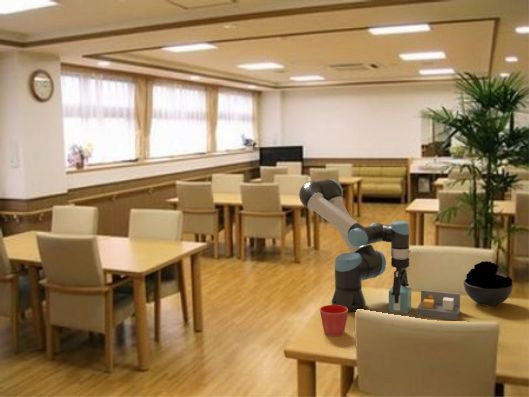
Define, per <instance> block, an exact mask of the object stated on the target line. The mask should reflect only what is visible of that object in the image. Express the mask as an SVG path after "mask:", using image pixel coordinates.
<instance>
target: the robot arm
mask: <svg viewBox="0 0 529 397" xmlns="http://www.w3.org/2000/svg"><path fill="white" fill-rule="evenodd" d="M343 191H344V189H343V187H342V185H341V184H340V182H339V181H337V180H335V179H332V178H331V179H330V178H329V179H328V178H326V179H322V180H311V181H307V182H305V183H304V184H303V185H302V186H301V187H300V189H299V193H298V195H299V200H300V203H301V204H302V205H303V206H304V207H305V209H307V210H309V211H311V212H315V213H316V214H318V215H319V216H320V217H321V218H323V219H325V221H326V222H328V223H329V224H331V225H332V226H333V227H335V228H336V230H337V231H338V233H339V235H340V236H341V239H342V240H343V241H344V244H345V245H346V247H347V248H348V250H349V252H345V253H344V252H343V253H341V254H338V255H337V256H336V257H335V259H334V260H335V261H334V293H333V294H332V295H333V296H332V299H331V301H330V302H331V303H330V305H340V306H344V307H346V308H348V313H349V312H350V313H351V312H352V313H353V312H356V311H355V310H357V309H363V310H364V309H366V306H367V304H366V303H367V302H366V299H365V296H364V292H363V289H362V282H363V281H365V280H369V279H373V278H377V277H379V276H381V275H383V274H384V273H385V271H386V266H387V259H386V256H385V254H384V253H383V252H381V251H379V250H377V249H375V248H374V246H373V245H372V244H375V243H379V242H386V243H391V244H390V246H391V247H390V254H391V255H390V256H391V260H390V261H391V262H390V263H391V267H393V268H395V271H393V282H392V287H393V292H392V294H391V295H394V310H399V311H400V289H401V287H406V288H408V287H409V281H408V273H407V272H408V271H407V269H408V268H409V267H410V258H409V257H410V253H411V250H410V225H409V222H408V221H402V220H397V221H392V222H391V224H385V223H381V222H373V223H370V225H368V226H364V225H363V224H361V223H359V222H358V221H356V220H355V219H354V218H353V217H352V216H351V215H350V214H349V212H348V210H347V208H346V207H345V205H344V204H343V201H344V198H343V196H344V192H343ZM396 292H397V293H396Z"/></svg>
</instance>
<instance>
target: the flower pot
mask: <svg viewBox="0 0 529 397" xmlns="http://www.w3.org/2000/svg"><path fill="white" fill-rule="evenodd" d="M319 312H320V318H321V324H322V329H323V333H324V334H325V335H327V336H330V337H340V336H343V335H344V334H345V331H346V330H345V329H346V325H347V320H348V314H349V312H348V308H346V307H344V306H340V305H331V304H327V305H323V306H321V307H320V308H319Z"/></svg>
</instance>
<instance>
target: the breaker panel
mask: <svg viewBox="0 0 529 397" xmlns="http://www.w3.org/2000/svg"><path fill="white" fill-rule="evenodd" d="M444 297H446V298H454V310H453V311H451V310H443V298H444ZM424 299H431V300H434V308H425V307H423V301H424ZM460 312H461V293H459V292H451V291H450V292H449V291H439V290H430V289H429V290H428V289H421V290H420V302H419V304H418V306H417V308H416V316H417V317H419V316H420V317H425V316H427V318H433V319H434V318H435V319H440V320H441V319H443V320H450V321H451V320H452V321H457V320H458V318H459V316H460Z"/></svg>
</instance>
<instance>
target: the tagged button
mask: <svg viewBox="0 0 529 397" xmlns="http://www.w3.org/2000/svg"><path fill="white" fill-rule="evenodd" d="M423 307H425V308H434V300H431V299H424V301H423Z"/></svg>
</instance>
